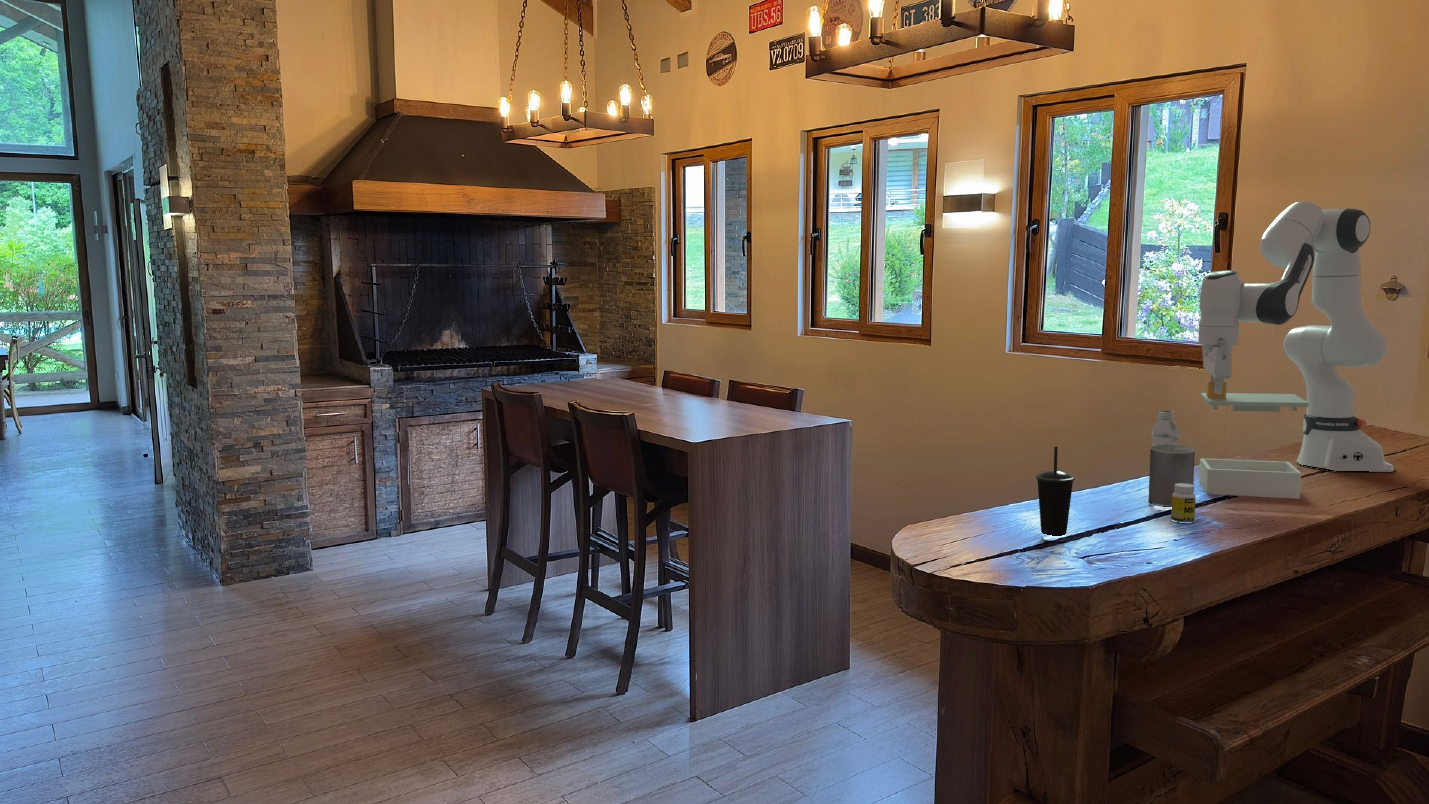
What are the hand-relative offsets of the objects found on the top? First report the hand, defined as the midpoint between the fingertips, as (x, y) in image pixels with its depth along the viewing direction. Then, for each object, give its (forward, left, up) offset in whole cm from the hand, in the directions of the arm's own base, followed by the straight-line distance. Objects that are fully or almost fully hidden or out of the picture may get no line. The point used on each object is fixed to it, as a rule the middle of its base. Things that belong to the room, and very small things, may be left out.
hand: (1216, 392), depth 237 cm
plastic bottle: (+11, -1, -25) cm, 28 cm away
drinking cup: (+37, +55, -25) cm, 71 cm away
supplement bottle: (+10, +33, -25) cm, 43 cm away
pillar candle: (+11, +17, -25) cm, 32 cm away
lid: (-8, 0, -4) cm, 9 cm away
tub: (-8, 0, -25) cm, 26 cm away
